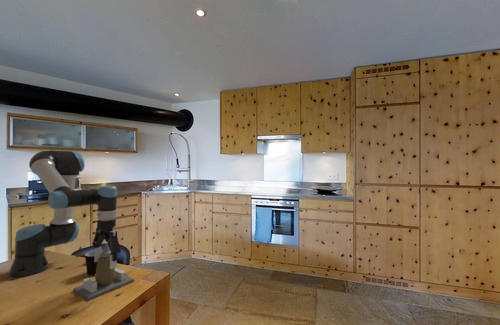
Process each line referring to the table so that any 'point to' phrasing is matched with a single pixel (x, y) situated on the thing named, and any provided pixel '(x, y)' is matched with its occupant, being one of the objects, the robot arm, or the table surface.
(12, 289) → the table surface
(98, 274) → the squeeze bottle
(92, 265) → the coffee mug
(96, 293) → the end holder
